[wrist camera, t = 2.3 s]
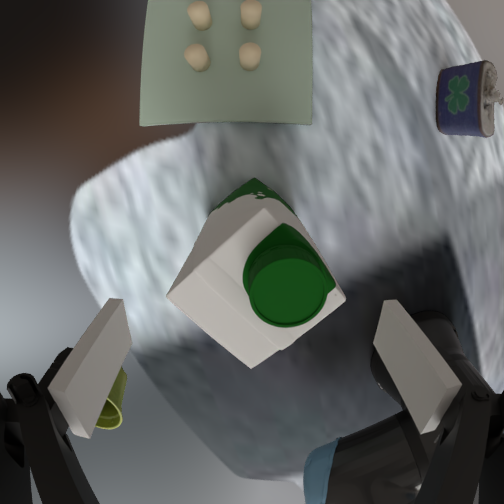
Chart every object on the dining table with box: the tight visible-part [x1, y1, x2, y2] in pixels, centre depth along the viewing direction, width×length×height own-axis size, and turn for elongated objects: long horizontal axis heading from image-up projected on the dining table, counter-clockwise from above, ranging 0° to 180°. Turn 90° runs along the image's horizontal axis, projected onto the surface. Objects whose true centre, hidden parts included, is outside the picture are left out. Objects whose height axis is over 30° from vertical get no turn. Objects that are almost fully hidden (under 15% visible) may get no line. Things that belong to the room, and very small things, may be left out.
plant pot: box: [95, 366, 127, 429], centre depth 38 cm, size 9×9×9 cm
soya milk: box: [166, 178, 346, 368], centre depth 25 cm, size 9×9×20 cm
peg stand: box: [140, 0, 312, 126], centre depth 25 cm, size 18×18×6 cm
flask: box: [436, 61, 504, 138], centre depth 24 cm, size 9×3×11 cm, turn 173°
